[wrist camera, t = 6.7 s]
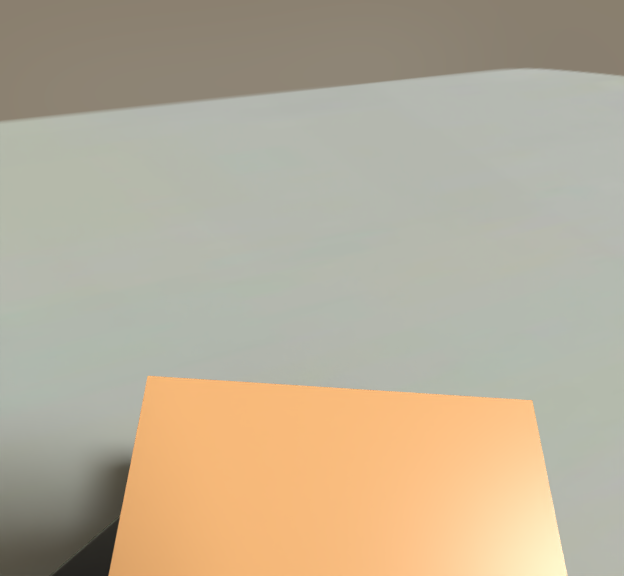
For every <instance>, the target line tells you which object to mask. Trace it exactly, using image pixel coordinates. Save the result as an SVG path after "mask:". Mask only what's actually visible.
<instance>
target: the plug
mask: <svg viewBox="0 0 624 576" xmlns="http://www.w3.org/2000/svg"><path fill="white" fill-rule="evenodd" d="M109 576H567V571H566V566H565V561H564V556H563V551H562V546H561V541H560V536H559V531H558V526H557V521H556V516H555V511H554V506H553V501H552V496H551V492H550V487H549V482H548V477H547V472H546V467H545V462H544V457H543V452H542V447H541V442H540V437H539V432H538V427H537V422H536V417H535V412H534V407H533V402H532V400H518V399H502V398H486V397H471V396H455V395H439V394H424V393H408V392H392V391H377V390H361V389H345V388H330V387H314V386H298V385H282V384H267V383H251V382H235V381H220V380H204V379H188V378H173V377H157V376H148V377H147V382H146V388H145V393H144V398H143V403H142V408H141V413H140V418H139V423H138V428H137V433H136V438H135V444H134V449H133V454H132V459H131V464H130V469H129V474H128V479H127V484H126V489H125V494H124V500H123V505H122V510H121V515H120V520H119V525H118V530H117V535H116V540H115V545H114V550H113V556H112V561H111V566H110V571H109Z"/></svg>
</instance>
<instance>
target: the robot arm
mask: <svg viewBox="0 0 624 576" xmlns="http://www.w3.org/2000/svg"><path fill="white" fill-rule="evenodd" d="M119 520H120V516H119V517H118V518H117V519H115V520H114V521H113V522H112V523H111V524H110V525H108V526H107V527H106V528H105V529H104V530H103V531H101V532H100V533H99V534H98V535H97V536H96V537H94V538H93V539H92V540H91V541H90V542H89V543H87V544H86V545H85V546H84V547H83V548H82V549H80V550H79V551H78V552H77V553H76V554H75V555H73V556H72V557H71V558H70V559H69V560H68V561H66V562H65V563H64V564H63V565H62V566H61V567H59V568H58V569H57V570H56V571H55V572H54V573H52V574H51V575H50V576H109V571H110V566H111V561H112V556H113V550H114V545H115V540H116V535H117V530H118V525H119Z"/></svg>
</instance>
